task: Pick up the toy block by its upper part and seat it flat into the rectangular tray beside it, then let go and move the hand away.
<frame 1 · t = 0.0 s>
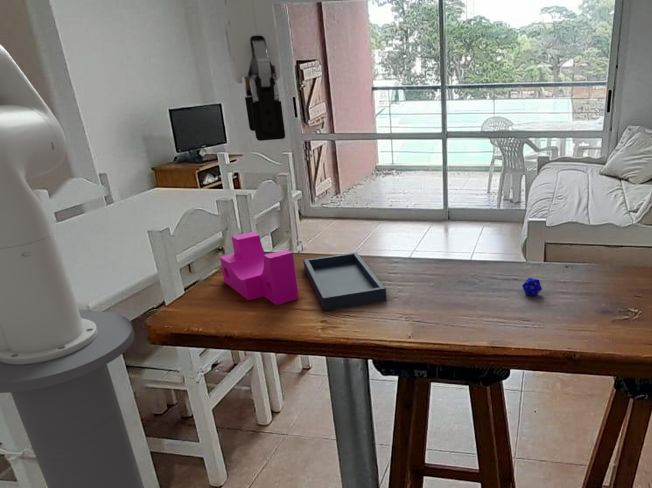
hand: (266, 134, 69), 26 cm above the counter, tool pointing down, fingers open, 9 cm apart
rectangular tray: (342, 284, 94), on the counter
die: (531, 295, 88), on the counter
toy block: (260, 291, 93), on the counter
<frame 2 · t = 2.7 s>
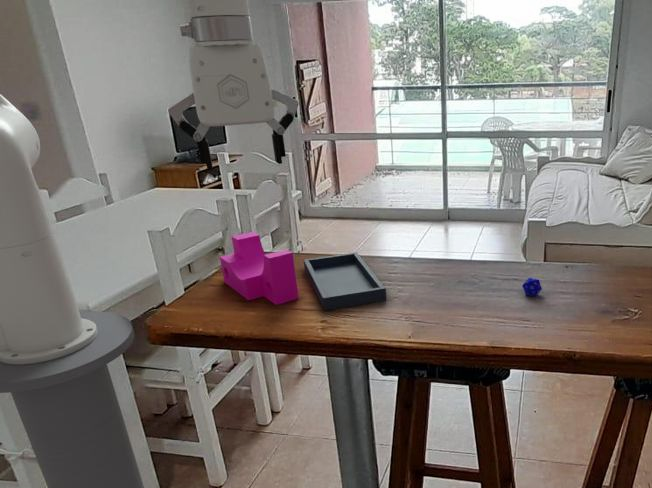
hand: (245, 165, 83), 20 cm above the counter, tool pointing down, fingers open, 9 cm apart
nothing on the counter moved.
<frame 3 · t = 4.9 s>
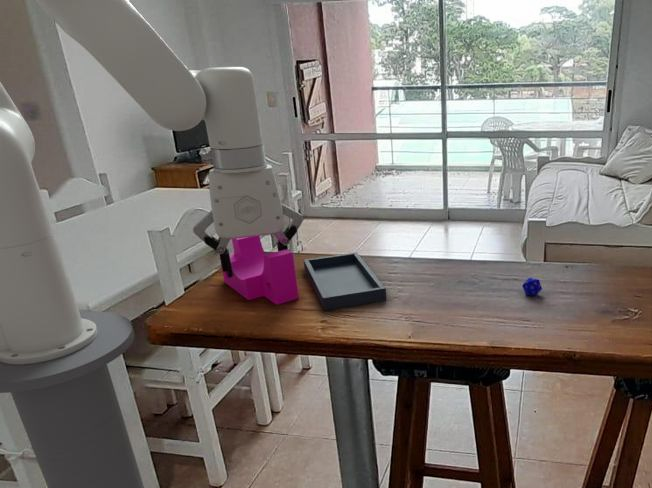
hand: (257, 270, 91), 3 cm above the counter, tool pointing down, fingers closed on toy block, 7 cm apart
toy block: (260, 291, 93), on the counter, touching gripper
everything else where it was.
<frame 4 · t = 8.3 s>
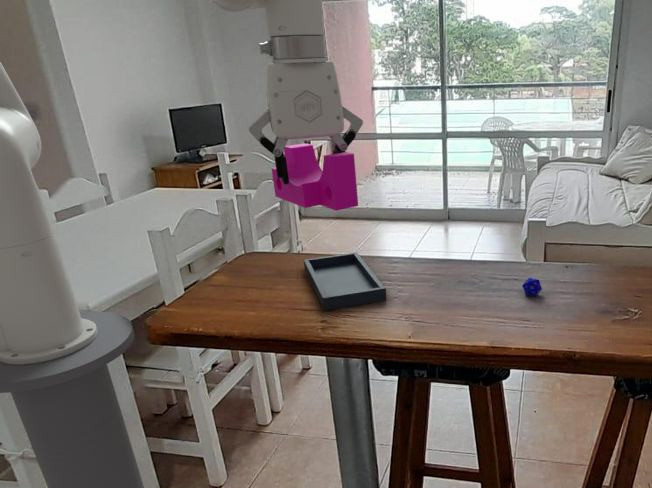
hand: (312, 179, 86), 17 cm above the counter, tool pointing down, fingers closed on toy block, 7 cm apart
toy block: (315, 202, 88), point 14 cm above the counter, touching gripper
everything else where it was.
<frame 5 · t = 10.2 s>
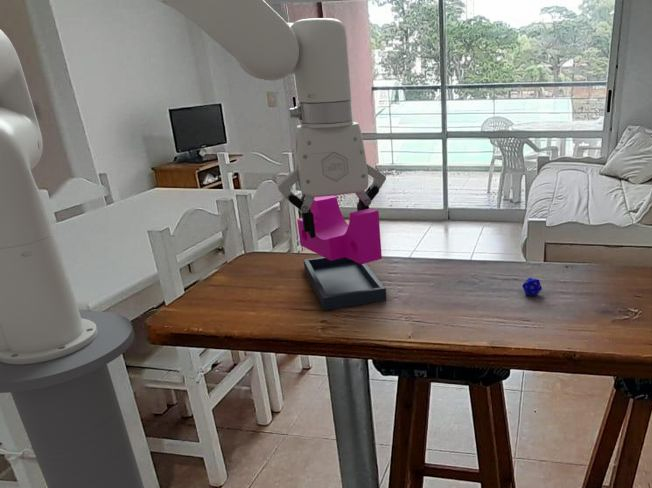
hand: (337, 231, 90), 9 cm above the counter, tool pointing down, fingers closed on toy block, 7 cm apart
toy block: (339, 252, 92), point 5 cm above the counter, touching gripper
everything else where it was.
when the fingers open (5 cm above the counter, at t = 11.6 s): toy block stays where it is, resting on rectangular tray.
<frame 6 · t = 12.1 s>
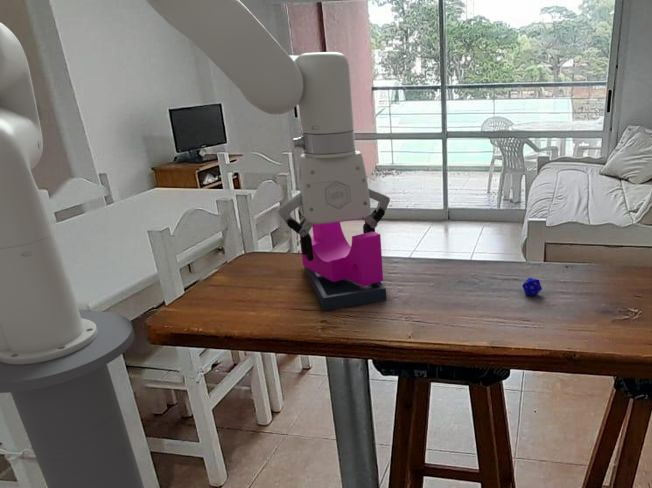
hand: (339, 254, 92), 5 cm above the counter, tool pointing down, fingers open, 9 cm apart
toy block: (341, 273, 93), point 2 cm above the counter, touching rectangular tray
everything else where it was.
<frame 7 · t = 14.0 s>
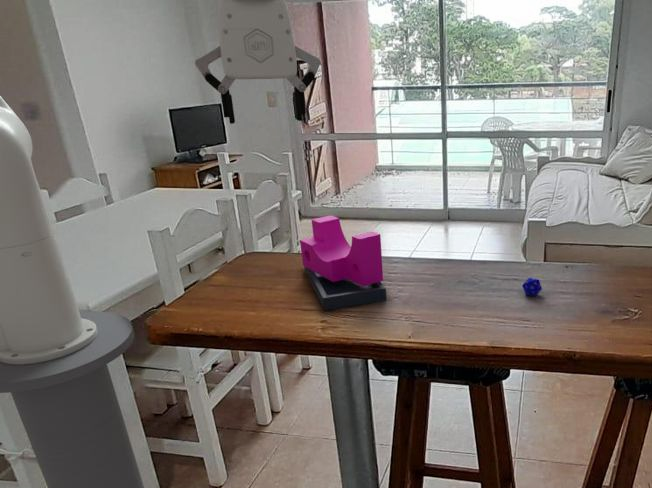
hand: (266, 121, 85), 26 cm above the counter, tool pointing down, fingers open, 9 cm apart
nothing on the counter moved.
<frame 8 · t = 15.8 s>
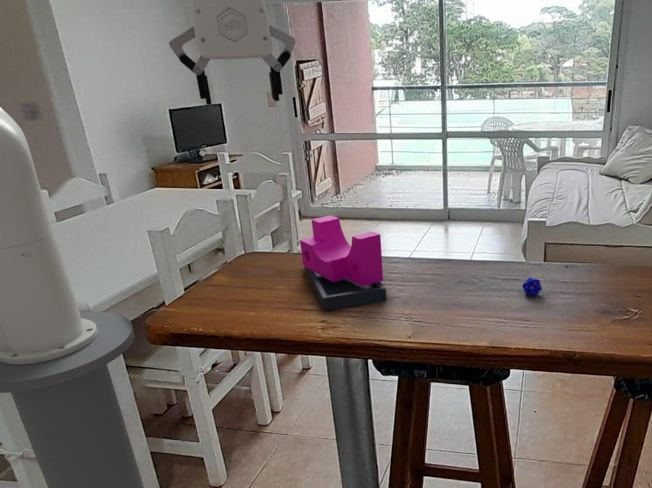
hand: (243, 102, 85), 28 cm above the counter, tool pointing down, fingers open, 9 cm apart
nothing on the counter moved.
at the end: toy block 0.1 cm off-centre in the rectangular tray, point 1.8 cm above the rectangular tray's base; toy block tilted 0°; the gripper is holding nothing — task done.
